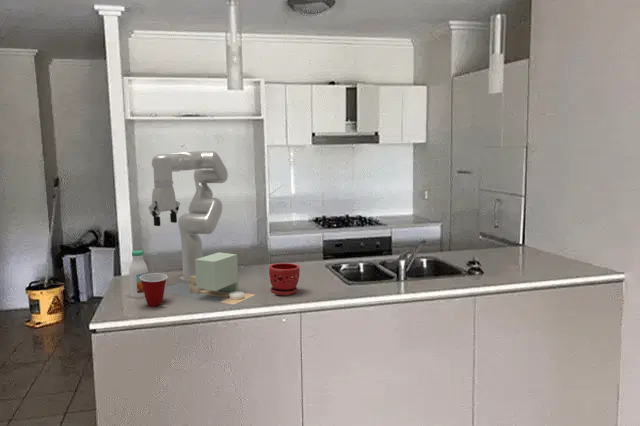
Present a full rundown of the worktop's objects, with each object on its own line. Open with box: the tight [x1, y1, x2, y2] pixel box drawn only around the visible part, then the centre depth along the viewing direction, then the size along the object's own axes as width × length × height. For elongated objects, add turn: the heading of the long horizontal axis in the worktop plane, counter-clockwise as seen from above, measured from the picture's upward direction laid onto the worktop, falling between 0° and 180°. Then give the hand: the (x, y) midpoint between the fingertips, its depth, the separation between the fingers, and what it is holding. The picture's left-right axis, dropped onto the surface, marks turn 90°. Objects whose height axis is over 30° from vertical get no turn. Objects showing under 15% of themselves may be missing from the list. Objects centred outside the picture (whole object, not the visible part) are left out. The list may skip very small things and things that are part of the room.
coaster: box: [229, 290, 245, 300], centre depth 223 cm, size 6×6×2 cm
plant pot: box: [268, 262, 301, 296], centre depth 233 cm, size 13×13×12 cm
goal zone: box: [220, 292, 255, 306], centre depth 223 cm, size 15×7×1 cm, turn 151°
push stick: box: [188, 275, 229, 298], centre depth 229 cm, size 4×20×7 cm, turn 61°
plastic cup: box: [140, 272, 168, 308], centre depth 218 cm, size 11×11×12 cm
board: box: [164, 282, 231, 303], centre depth 233 cm, size 15×36×1 cm, turn 61°
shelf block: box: [195, 252, 240, 292], centre depth 227 cm, size 15×10×18 cm, turn 151°
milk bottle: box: [128, 249, 149, 298], centre depth 229 cm, size 8×8×20 cm
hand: (165, 224), depth 232 cm, fingers open, 9 cm apart
